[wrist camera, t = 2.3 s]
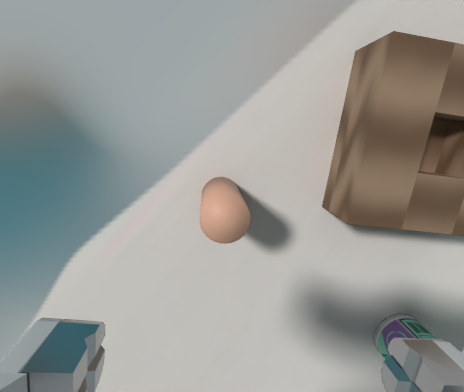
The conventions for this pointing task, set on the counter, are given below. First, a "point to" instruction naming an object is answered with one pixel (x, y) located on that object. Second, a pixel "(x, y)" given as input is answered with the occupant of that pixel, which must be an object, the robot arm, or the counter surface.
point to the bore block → (402, 138)
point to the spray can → (398, 331)
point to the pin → (223, 211)
